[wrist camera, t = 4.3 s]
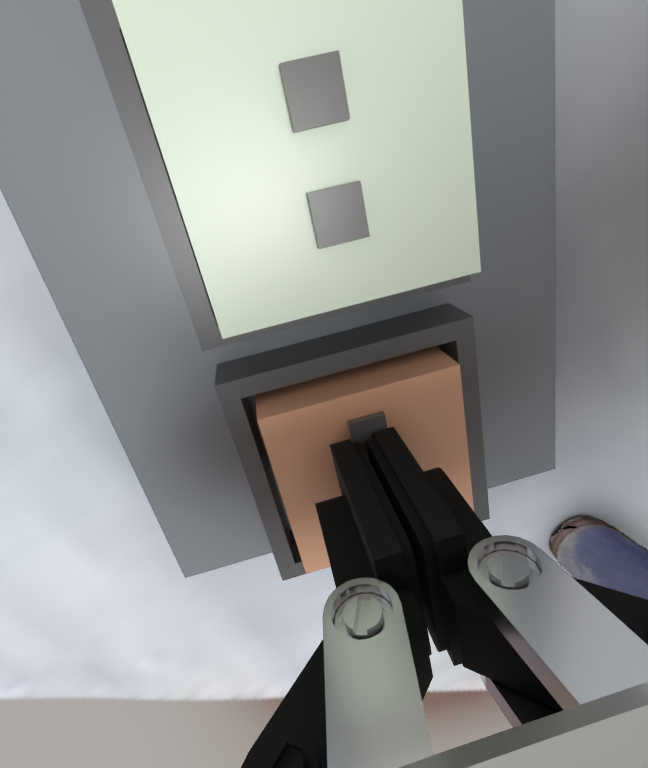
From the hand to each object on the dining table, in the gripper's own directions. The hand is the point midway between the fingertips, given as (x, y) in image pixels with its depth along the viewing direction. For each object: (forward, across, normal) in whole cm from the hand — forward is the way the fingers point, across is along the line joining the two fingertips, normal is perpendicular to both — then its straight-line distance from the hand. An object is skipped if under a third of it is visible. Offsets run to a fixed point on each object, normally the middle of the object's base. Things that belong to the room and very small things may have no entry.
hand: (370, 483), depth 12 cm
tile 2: (+1, 0, -7) cm, 8 cm away
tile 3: (+2, 0, 0) cm, 2 cm away
